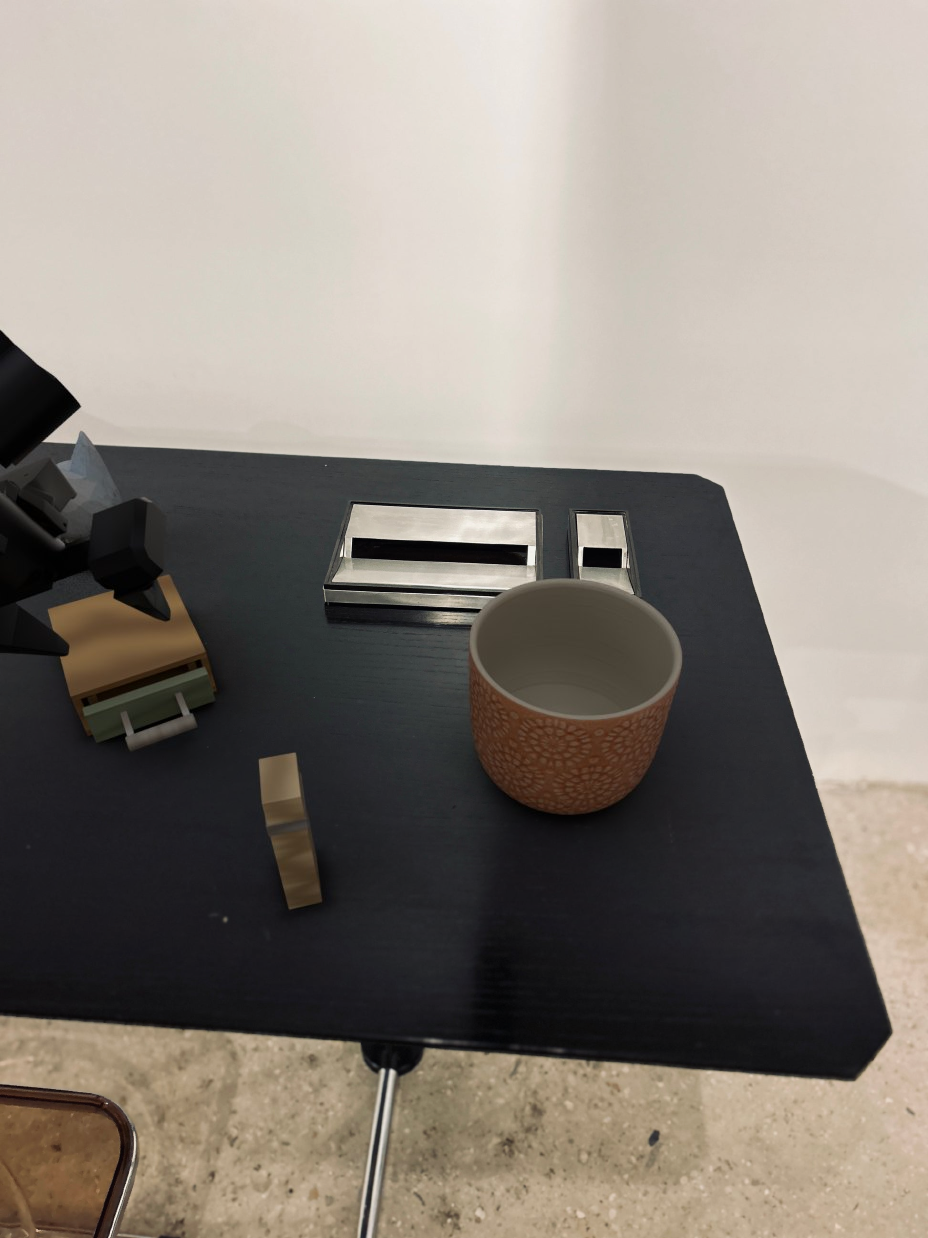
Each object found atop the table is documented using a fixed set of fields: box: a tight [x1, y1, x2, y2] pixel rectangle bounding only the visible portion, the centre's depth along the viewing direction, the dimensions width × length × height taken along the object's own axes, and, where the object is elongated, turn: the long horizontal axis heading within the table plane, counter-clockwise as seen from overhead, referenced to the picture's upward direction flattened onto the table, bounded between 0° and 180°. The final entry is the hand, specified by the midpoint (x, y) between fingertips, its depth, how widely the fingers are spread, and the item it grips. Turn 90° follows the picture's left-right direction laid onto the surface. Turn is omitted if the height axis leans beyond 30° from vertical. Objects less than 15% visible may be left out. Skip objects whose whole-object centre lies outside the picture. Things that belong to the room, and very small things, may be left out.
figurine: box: [55, 430, 123, 544], centre depth 92 cm, size 10×9×15 cm
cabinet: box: [47, 574, 218, 737], centre depth 80 cm, size 14×12×5 cm
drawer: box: [82, 661, 216, 753], centre depth 76 cm, size 18×11×4 cm, turn 30°
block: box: [258, 752, 323, 910], centre depth 58 cm, size 3×4×14 cm, turn 14°
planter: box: [468, 577, 683, 816], centre depth 67 cm, size 17×17×15 cm
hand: (117, 633), depth 62 cm, fingers open, 9 cm apart
